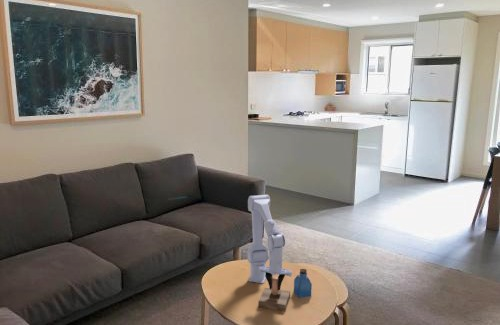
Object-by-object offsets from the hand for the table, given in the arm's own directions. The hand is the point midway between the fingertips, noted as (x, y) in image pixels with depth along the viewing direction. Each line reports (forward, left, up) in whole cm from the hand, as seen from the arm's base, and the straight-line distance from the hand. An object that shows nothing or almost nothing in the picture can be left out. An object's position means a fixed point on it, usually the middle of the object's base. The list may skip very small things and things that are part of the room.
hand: (275, 288), depth 179 cm
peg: (0, 0, -2) cm, 2 cm away
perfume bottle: (-11, +11, -7) cm, 17 cm away
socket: (0, 0, -7) cm, 7 cm away
